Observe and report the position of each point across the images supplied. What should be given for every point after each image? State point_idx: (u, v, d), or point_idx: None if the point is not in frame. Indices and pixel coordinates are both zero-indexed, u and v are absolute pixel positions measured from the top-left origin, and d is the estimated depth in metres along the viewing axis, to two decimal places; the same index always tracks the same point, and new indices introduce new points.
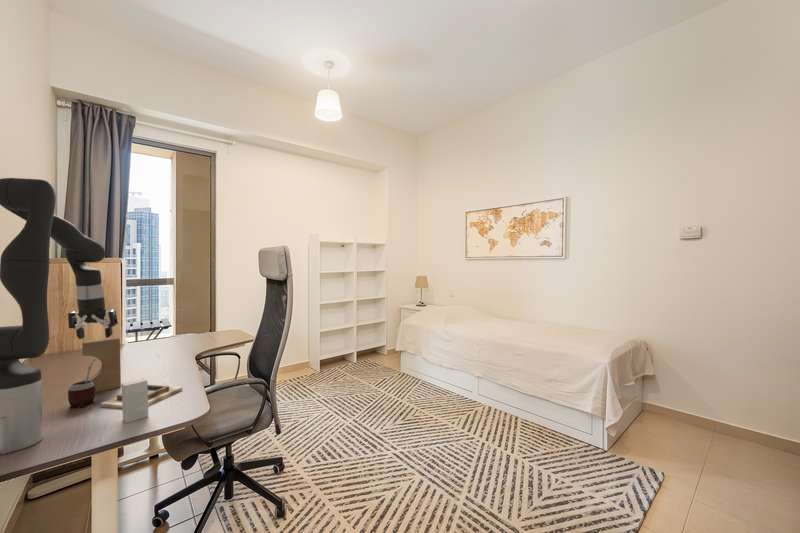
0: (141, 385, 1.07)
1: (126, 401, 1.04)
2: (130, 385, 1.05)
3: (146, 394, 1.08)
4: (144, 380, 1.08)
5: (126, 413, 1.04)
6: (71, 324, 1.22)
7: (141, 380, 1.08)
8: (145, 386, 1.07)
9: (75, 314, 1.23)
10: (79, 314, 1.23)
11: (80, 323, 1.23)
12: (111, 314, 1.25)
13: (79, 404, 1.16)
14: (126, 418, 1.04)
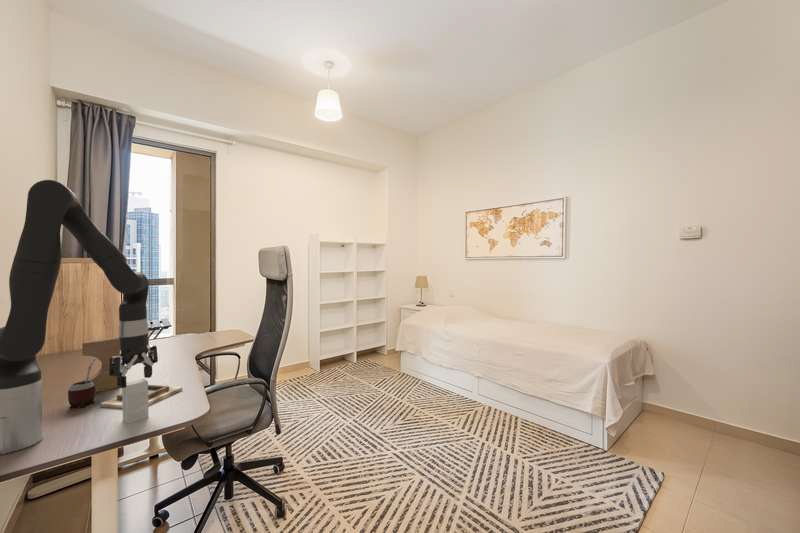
0: (141, 385, 1.07)
1: (126, 401, 1.04)
2: (131, 385, 1.05)
3: (146, 394, 1.08)
4: (144, 381, 1.08)
5: (126, 413, 1.04)
6: None
7: (141, 380, 1.08)
8: (145, 386, 1.08)
9: None
10: None
11: None
12: None
13: (79, 404, 1.16)
14: (126, 418, 1.04)
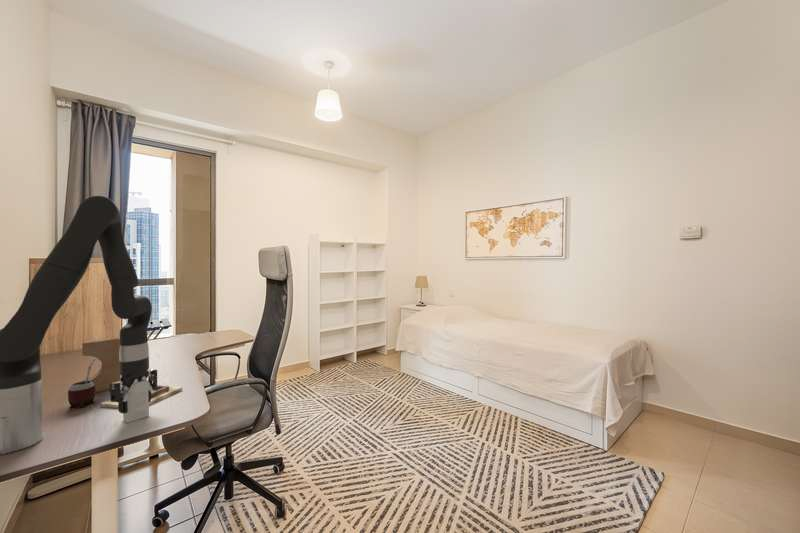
0: (141, 385, 1.07)
1: (127, 401, 1.04)
2: None
3: (147, 394, 1.08)
4: (144, 380, 1.08)
5: (127, 413, 1.04)
6: None
7: None
8: (146, 386, 1.08)
9: None
10: None
11: None
12: None
13: (79, 404, 1.16)
14: (127, 418, 1.04)
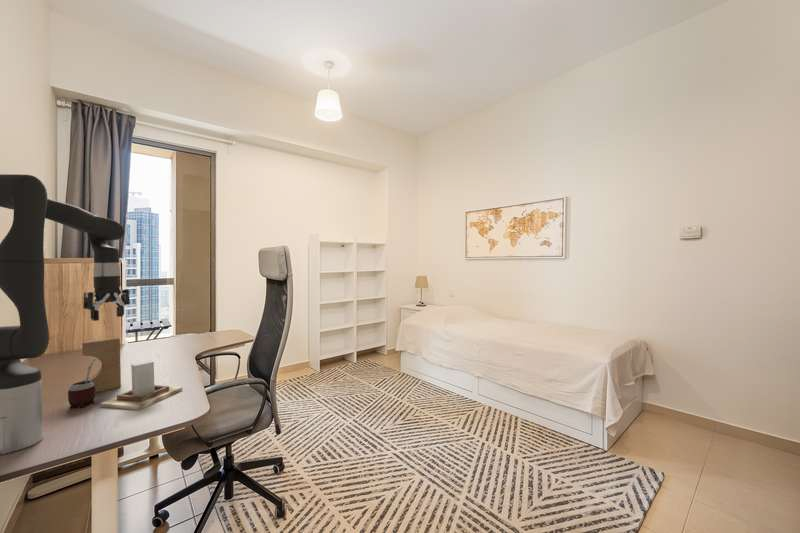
0: (148, 366, 1.23)
1: (135, 379, 1.20)
2: (139, 365, 1.21)
3: (152, 374, 1.24)
4: (150, 362, 1.24)
5: (135, 389, 1.20)
6: None
7: (148, 361, 1.24)
8: (152, 367, 1.23)
9: None
10: None
11: None
12: None
13: (79, 404, 1.16)
14: (135, 394, 1.20)
